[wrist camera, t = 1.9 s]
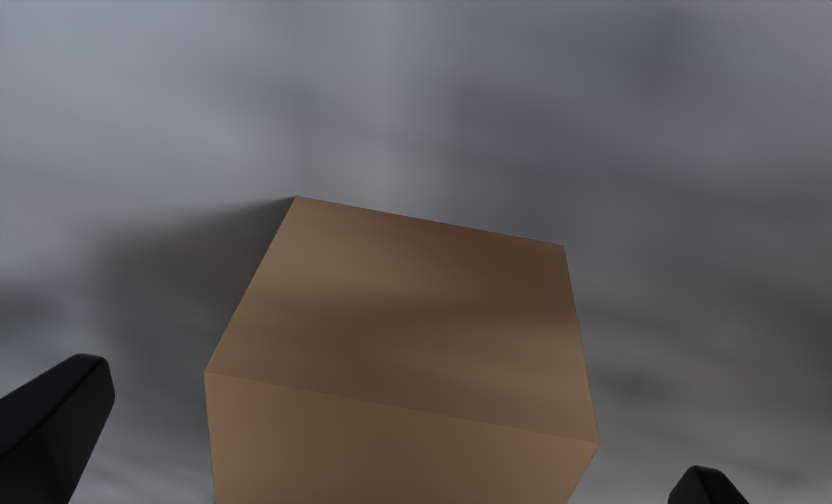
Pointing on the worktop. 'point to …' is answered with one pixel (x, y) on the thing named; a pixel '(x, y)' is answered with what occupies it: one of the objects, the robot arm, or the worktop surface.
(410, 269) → the walnut block
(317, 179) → the worktop surface
